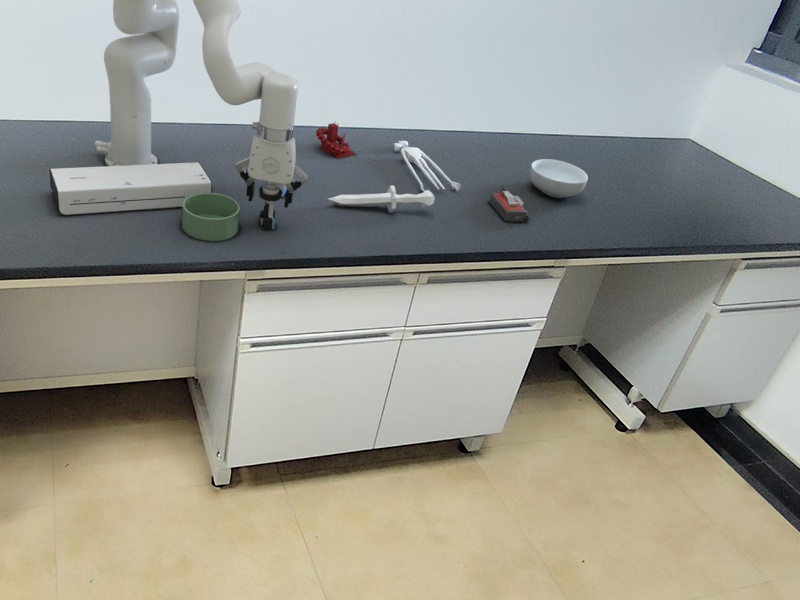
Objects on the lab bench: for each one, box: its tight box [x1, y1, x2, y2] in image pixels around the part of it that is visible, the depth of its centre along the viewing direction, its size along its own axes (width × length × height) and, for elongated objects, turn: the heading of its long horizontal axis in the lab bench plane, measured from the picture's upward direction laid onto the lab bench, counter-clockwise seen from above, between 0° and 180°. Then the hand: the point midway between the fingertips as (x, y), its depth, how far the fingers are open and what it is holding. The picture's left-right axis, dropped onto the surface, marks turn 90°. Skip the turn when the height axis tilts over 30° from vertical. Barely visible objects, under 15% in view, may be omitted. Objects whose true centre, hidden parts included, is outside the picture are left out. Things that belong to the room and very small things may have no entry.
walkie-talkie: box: [489, 184, 531, 223], centre depth 214 cm, size 9×4×20 cm
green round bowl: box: [181, 192, 241, 242], centre depth 175 cm, size 13×13×6 cm
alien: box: [393, 140, 462, 192], centre depth 224 cm, size 12×32×5 cm, turn 24°
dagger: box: [327, 185, 435, 213], centre depth 198 cm, size 8×6×28 cm
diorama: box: [315, 122, 356, 159], centre depth 223 cm, size 11×12×8 cm
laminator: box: [48, 162, 213, 216], centre depth 180 cm, size 34×12×6 cm, turn 118°
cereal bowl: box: [529, 158, 589, 199], centre depth 227 cm, size 17×17×7 cm
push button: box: [258, 183, 282, 230], centre depth 180 cm, size 7×5×10 cm
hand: (269, 201), depth 180 cm, fingers open, 7 cm apart
